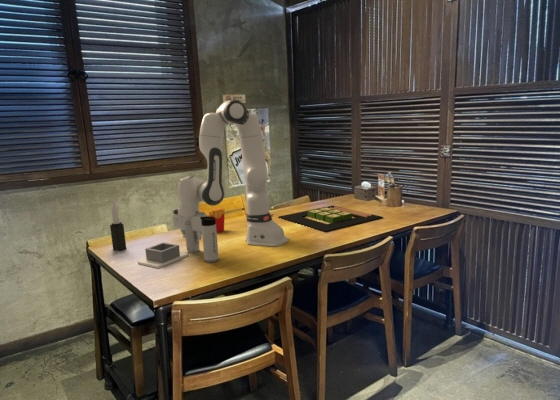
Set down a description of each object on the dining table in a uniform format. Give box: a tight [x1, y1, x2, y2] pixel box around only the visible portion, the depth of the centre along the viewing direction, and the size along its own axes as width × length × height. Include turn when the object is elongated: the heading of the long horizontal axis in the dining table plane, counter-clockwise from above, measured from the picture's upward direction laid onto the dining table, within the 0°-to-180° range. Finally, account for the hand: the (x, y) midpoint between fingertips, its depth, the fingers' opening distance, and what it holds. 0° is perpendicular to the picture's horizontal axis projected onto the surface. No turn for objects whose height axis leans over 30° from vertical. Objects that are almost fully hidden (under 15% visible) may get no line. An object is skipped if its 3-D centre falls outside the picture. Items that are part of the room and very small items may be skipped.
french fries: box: [208, 207, 226, 233], centre depth 225 cm, size 9×4×13 cm, turn 117°
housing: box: [137, 242, 189, 269], centre depth 182 cm, size 13×18×6 cm
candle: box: [109, 199, 127, 252], centre depth 199 cm, size 5×5×25 cm
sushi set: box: [277, 205, 384, 233], centre depth 245 cm, size 45×45×4 cm
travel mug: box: [200, 216, 220, 264], centre depth 177 cm, size 6×7×20 cm
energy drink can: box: [185, 221, 200, 254], centre depth 191 cm, size 6×6×15 cm
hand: (192, 238), depth 192 cm, fingers open, 7 cm apart
